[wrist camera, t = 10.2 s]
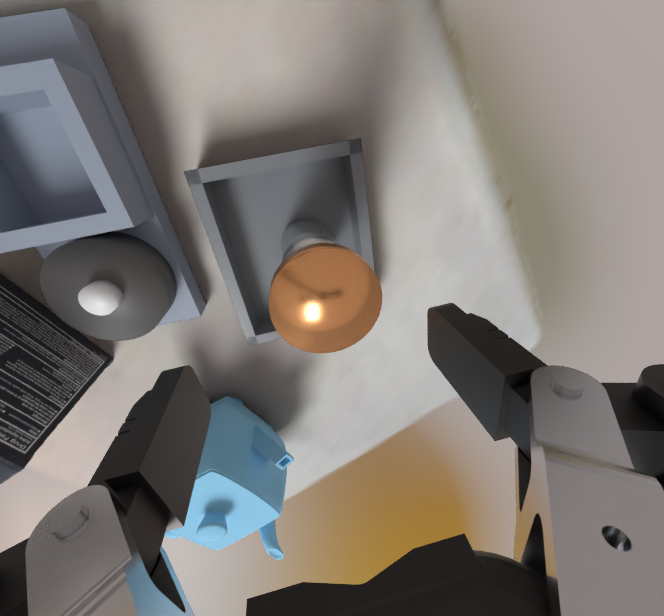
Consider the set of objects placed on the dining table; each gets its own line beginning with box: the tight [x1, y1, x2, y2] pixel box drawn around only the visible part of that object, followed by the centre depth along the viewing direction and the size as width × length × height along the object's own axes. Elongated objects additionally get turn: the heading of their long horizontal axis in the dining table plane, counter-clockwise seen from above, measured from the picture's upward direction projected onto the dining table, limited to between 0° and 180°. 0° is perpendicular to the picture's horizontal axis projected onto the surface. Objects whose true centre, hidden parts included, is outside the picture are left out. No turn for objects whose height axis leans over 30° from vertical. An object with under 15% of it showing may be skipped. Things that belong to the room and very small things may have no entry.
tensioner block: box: [0, 8, 206, 341], centre depth 18 cm, size 18×8×5 cm, turn 10°
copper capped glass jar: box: [269, 218, 382, 353], centre depth 18 cm, size 5×5×11 cm
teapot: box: [164, 396, 294, 560], centre depth 27 cm, size 18×14×10 cm
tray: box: [184, 138, 375, 346], centre depth 22 cm, size 13×11×3 cm
